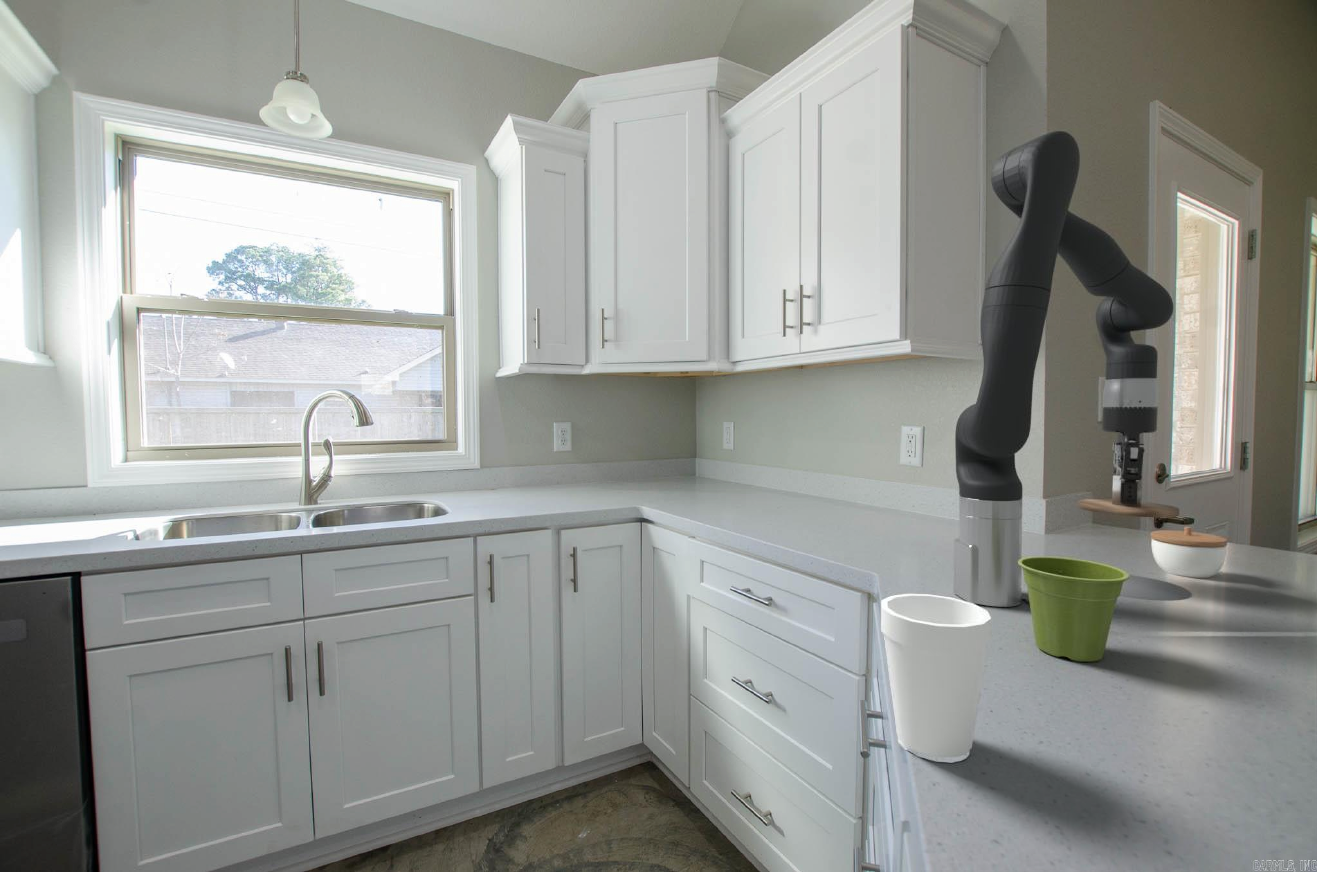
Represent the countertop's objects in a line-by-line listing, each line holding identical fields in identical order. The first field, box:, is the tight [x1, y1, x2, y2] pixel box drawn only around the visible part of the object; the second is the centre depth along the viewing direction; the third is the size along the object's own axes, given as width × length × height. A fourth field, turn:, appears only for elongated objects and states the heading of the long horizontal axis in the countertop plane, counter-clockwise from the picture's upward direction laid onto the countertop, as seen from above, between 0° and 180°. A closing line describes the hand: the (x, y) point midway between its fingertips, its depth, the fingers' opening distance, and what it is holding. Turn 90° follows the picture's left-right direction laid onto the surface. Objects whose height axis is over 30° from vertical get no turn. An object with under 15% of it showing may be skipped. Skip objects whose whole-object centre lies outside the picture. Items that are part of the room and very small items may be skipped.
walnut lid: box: [1077, 474, 1180, 518], centre depth 103 cm, size 14×14×6 cm
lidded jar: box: [1150, 526, 1228, 579], centre depth 111 cm, size 11×11×9 cm
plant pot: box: [1018, 556, 1130, 663], centre depth 76 cm, size 12×12×11 cm
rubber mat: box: [1119, 574, 1193, 602], centre depth 103 cm, size 17×17×1 cm
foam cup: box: [880, 593, 992, 757], centre depth 55 cm, size 10×9×13 cm
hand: (1126, 502), depth 103 cm, fingers closed on walnut lid, 4 cm apart
